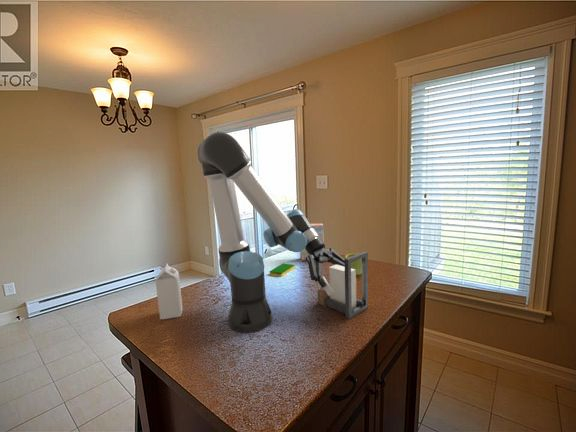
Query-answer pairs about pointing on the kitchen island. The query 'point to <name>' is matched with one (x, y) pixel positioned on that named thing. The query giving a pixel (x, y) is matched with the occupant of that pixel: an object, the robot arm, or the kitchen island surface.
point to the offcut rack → (347, 306)
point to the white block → (341, 284)
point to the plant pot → (356, 265)
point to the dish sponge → (282, 270)
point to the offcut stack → (322, 296)
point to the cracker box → (320, 232)
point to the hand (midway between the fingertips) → (343, 288)
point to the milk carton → (169, 293)
